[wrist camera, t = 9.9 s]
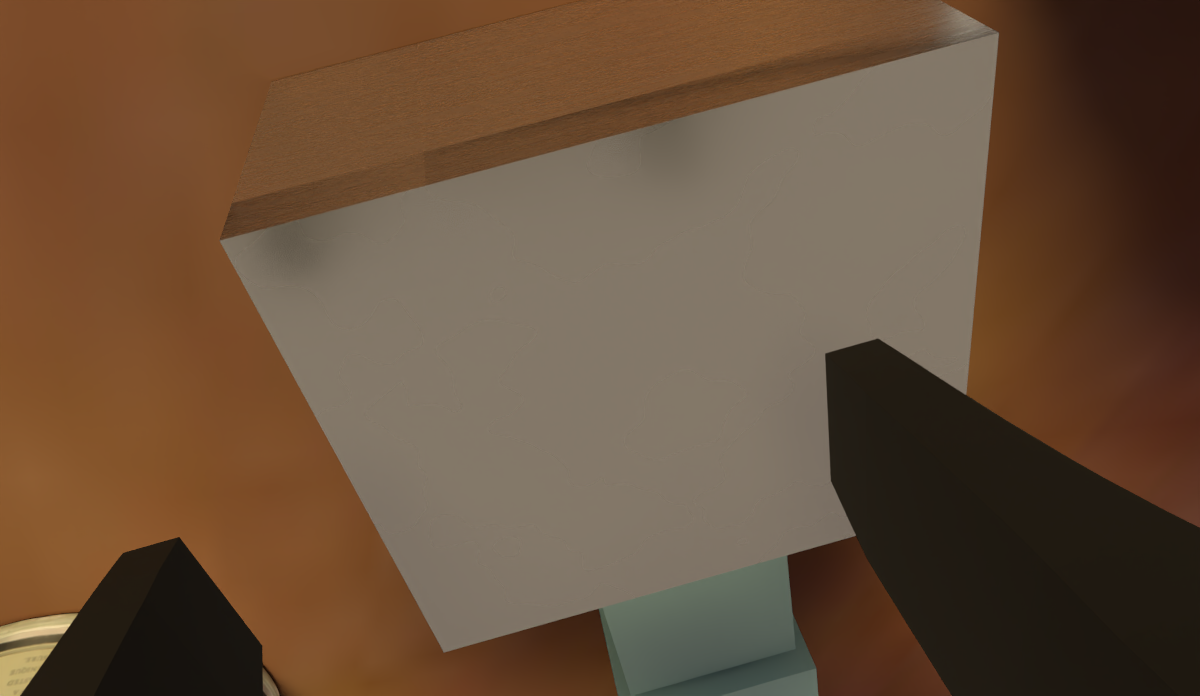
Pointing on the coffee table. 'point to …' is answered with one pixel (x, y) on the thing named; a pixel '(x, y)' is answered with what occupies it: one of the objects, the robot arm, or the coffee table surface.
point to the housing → (613, 279)
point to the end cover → (712, 638)
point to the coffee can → (45, 652)
